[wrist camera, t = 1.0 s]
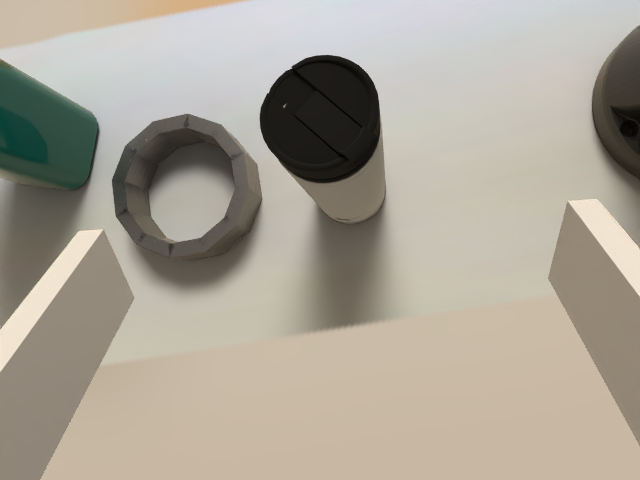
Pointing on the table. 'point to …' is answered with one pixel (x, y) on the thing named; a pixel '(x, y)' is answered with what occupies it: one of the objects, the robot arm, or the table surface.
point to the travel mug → (329, 135)
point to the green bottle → (42, 134)
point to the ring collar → (140, 170)
